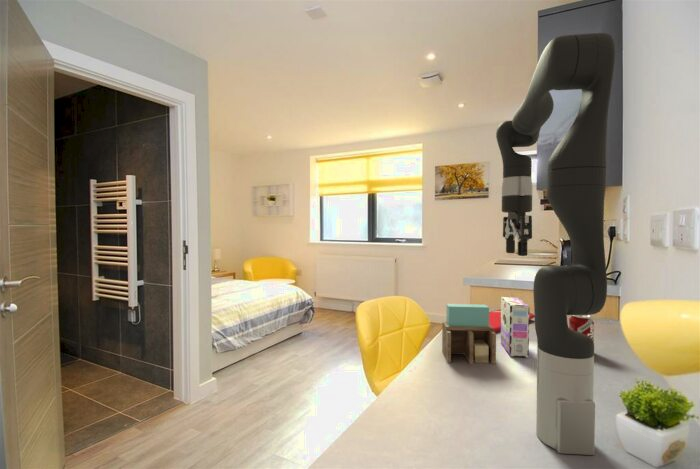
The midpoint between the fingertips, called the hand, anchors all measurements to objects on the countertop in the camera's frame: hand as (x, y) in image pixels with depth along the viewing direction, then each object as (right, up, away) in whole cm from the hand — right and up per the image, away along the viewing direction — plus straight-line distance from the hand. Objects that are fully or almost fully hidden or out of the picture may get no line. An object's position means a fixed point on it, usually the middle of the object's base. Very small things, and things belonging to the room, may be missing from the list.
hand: (516, 254), depth 97 cm
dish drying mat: (+14, -33, +51) cm, 62 cm away
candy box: (+9, -33, +20) cm, 40 cm away
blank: (-9, -23, +14) cm, 28 cm away
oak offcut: (-6, -33, +13) cm, 36 cm away
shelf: (-9, -33, +13) cm, 36 cm away
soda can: (+30, -33, +18) cm, 48 cm away
